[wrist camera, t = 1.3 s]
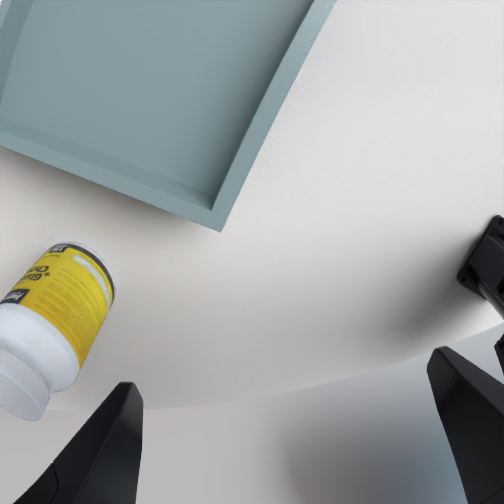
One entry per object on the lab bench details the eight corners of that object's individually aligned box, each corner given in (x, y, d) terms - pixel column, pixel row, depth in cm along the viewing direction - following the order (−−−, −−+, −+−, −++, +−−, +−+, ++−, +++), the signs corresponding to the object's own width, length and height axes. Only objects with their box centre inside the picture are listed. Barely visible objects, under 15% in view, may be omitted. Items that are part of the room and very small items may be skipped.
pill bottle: (92, 226, 20) (-3, 343, 10) (132, 302, 23) (80, 433, 13) (32, 252, 21) (-55, 352, 11) (71, 317, 24) (12, 427, 14)
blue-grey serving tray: (342, -29, 13) (370, -60, 8) (226, 197, 19) (220, 232, 15) (105, -90, 9) (75, -119, 5) (15, 118, 16) (-33, 133, 12)
